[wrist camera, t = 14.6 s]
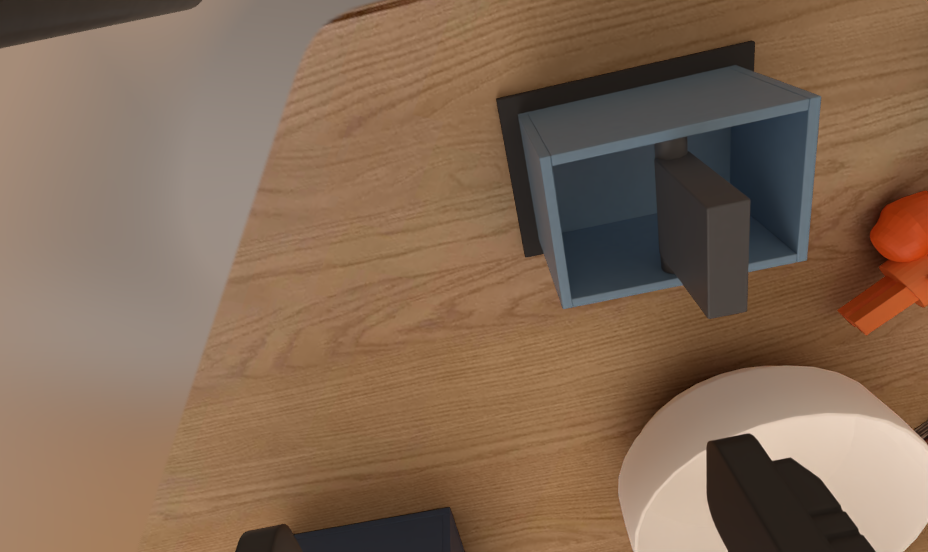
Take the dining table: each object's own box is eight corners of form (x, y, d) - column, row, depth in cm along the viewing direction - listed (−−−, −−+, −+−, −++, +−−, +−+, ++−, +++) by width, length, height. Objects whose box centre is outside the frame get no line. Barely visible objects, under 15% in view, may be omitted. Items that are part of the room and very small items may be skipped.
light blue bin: (539, 240, 36) (584, 372, 24) (517, 114, 32) (560, 200, 20) (733, 199, 35) (875, 317, 23) (736, 64, 31) (906, 126, 20)
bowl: (568, 385, 42) (596, 476, 35) (844, 288, 39) (939, 366, 31) (638, 541, 51) (671, 640, 44) (866, 473, 48) (944, 568, 40)
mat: (524, 255, 37) (525, 257, 36) (495, 98, 32) (496, 100, 31) (746, 209, 36) (749, 211, 35) (751, 40, 31) (755, 41, 30)
